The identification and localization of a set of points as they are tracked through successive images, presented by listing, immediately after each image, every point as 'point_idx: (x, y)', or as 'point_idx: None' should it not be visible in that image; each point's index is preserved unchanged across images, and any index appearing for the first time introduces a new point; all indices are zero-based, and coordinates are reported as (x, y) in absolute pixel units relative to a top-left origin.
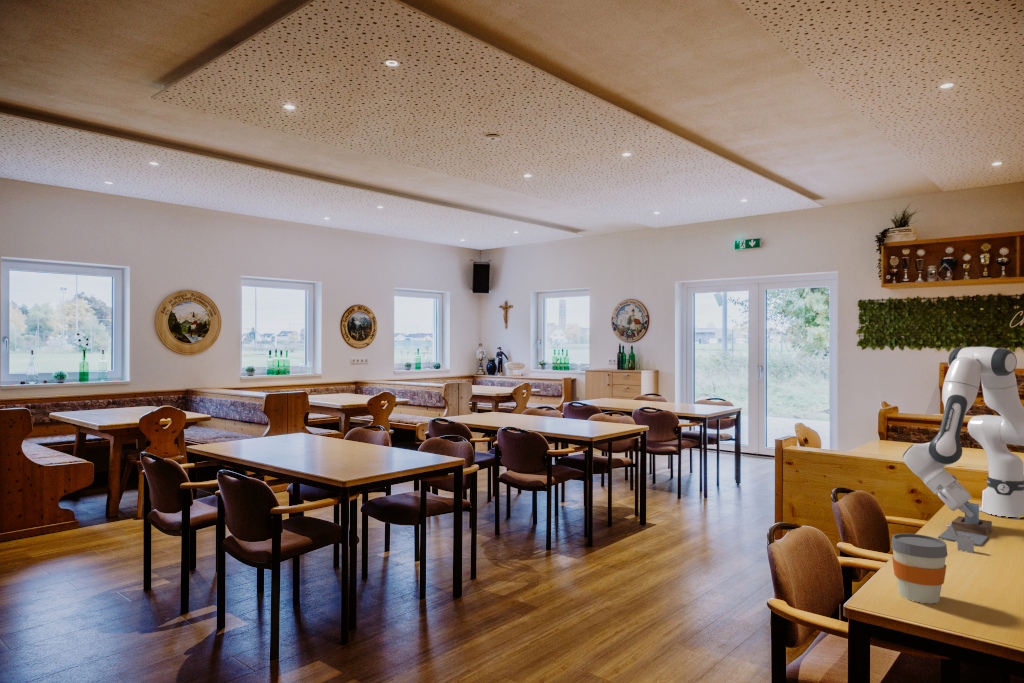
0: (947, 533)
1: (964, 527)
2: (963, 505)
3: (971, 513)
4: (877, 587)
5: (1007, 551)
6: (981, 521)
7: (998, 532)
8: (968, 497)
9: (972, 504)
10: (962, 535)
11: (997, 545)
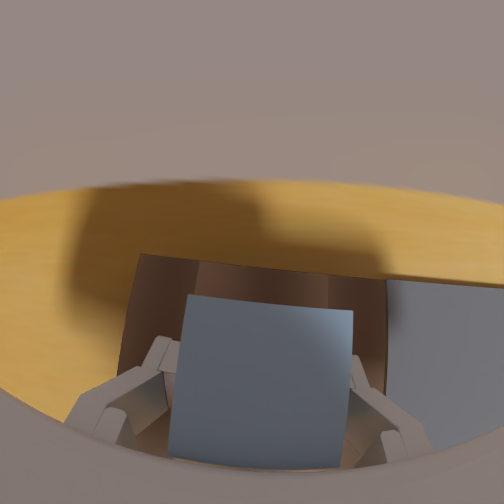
0: (461, 435)
1: None
2: (430, 448)
3: (360, 372)
4: None
5: (492, 219)
6: None
7: (206, 243)
8: (7, 413)
9: (281, 378)
10: None
11: (463, 244)
